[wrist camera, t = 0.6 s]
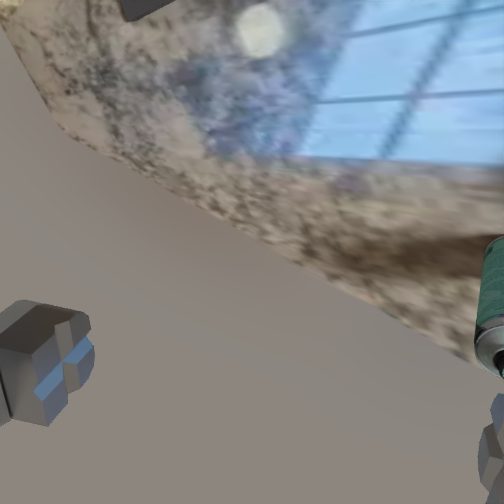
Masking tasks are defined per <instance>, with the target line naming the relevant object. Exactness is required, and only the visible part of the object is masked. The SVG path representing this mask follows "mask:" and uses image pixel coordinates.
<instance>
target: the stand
mask: <svg viewBox="0 0 504 504" xmlns="http://www.w3.org/2000/svg"><path fill="white" fill-rule="evenodd" d="M173 1H175V0H120V3H121V5H122V8H123V11H124V13H125V16H126V18H127V21H128V22H130V21H137V20H139V19H140V18H142V17H144V16H146V15H148V14H150V13H152V12H154V11H156V10H158V9H160V8H162V7H164V6H165V5H167V4H169V3H171V2H173Z"/></svg>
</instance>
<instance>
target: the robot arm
mask: <svg viewBox="0 0 504 504" xmlns="http://www.w3.org/2000/svg"><path fill="white" fill-rule="evenodd" d="M90 330H91V326H90V321H89V316H88V315H86V314H85V313H84V312H81V311H76V310H72V309H67V308H62V307H58V306H54V305H49V304H42V303H38V302H34V301H29V300H19V301H16V302H15V303H13V304H12V305H11V306H9V307H8V308H6V309H5V310H4V311H2V312H1V313H0V426H2V425H4V424H5V423H7V422H9V421H10V420H11V419H16V420H20V421H25V422H29V423H34V424H38V425H43V426H49V425H50V423H51V422H52V421H53V420H54V419H55V418H56V416H57V415H58V414H59V413H60V412H61V411H62V409H63V408H64V407H65V406H66V405H67V403H68V394H69V393H71V392H74V391H76V390H78V389H80V388H81V387H82V386H83V385H84V383H85V382H86V381H87V380H88V378H89V376H90V374H91V371H92V369H93V366H94V358H95V352H94V346H93V345H92V343H91V342H90V340H89V339H88V338H87V337H86V335H87V334H88V333H89V331H90ZM490 411H491V415H492V419H493V423H492V424H490V425H488V426H487V427H485V428H484V429H483V432H482V436H481V439H480V442H479V451H478V470H479V476H480V482H481V483H482V484H483V486H484V487H485V488H486V489H487V490H488V491H489V496H488V498H487V501H486V504H504V394H501V393H498V395H497V396H496V397H495V398H494V401H493V403H492V406H491V409H490ZM10 418H11V419H10Z"/></svg>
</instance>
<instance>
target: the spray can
mask: <svg viewBox="0 0 504 504" xmlns="http://www.w3.org/2000/svg"><path fill="white" fill-rule="evenodd" d="M474 348H475V355H476V358H477V360H478V362H479V363H480V364H481V366H482V367H483V368H484V369H486V370H487V371H488V372H490V373H491V374H493V375H495V376H497V377H500V378H503V379H504V235H503V236H500V237H498V238H496V239H494V240H493V241H492V242H491V243H490V244H489V245H488V246H487V248H486V250H485V254H484V261H483V269H482V278H481V286H480V295H479V303H478V312H477V320H476V329H475V337H474Z"/></svg>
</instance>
